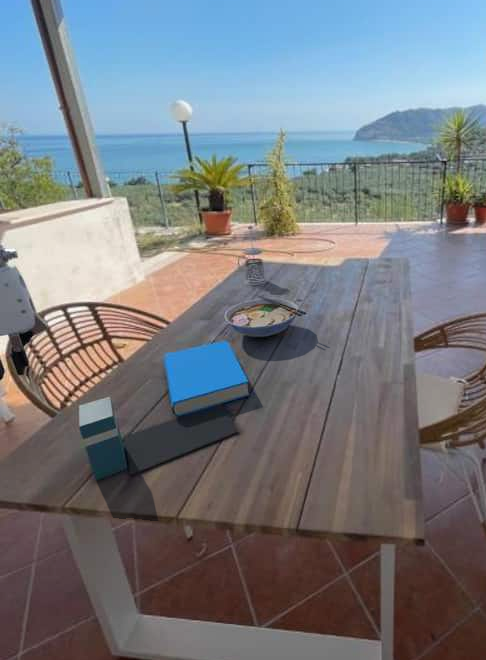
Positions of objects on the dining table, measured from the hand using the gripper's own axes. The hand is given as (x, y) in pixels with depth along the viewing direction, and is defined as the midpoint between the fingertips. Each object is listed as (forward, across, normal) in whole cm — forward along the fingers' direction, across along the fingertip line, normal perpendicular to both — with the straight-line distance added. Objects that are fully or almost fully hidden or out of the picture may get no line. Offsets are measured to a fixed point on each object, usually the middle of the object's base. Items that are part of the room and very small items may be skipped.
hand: (11, 373), depth 61 cm
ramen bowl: (+23, -54, -36) cm, 69 cm away
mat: (+23, -22, 0) cm, 32 cm away
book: (+23, -31, -18) cm, 43 cm away
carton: (+23, -9, 0) cm, 25 cm away
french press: (+23, -69, -86) cm, 113 cm away
